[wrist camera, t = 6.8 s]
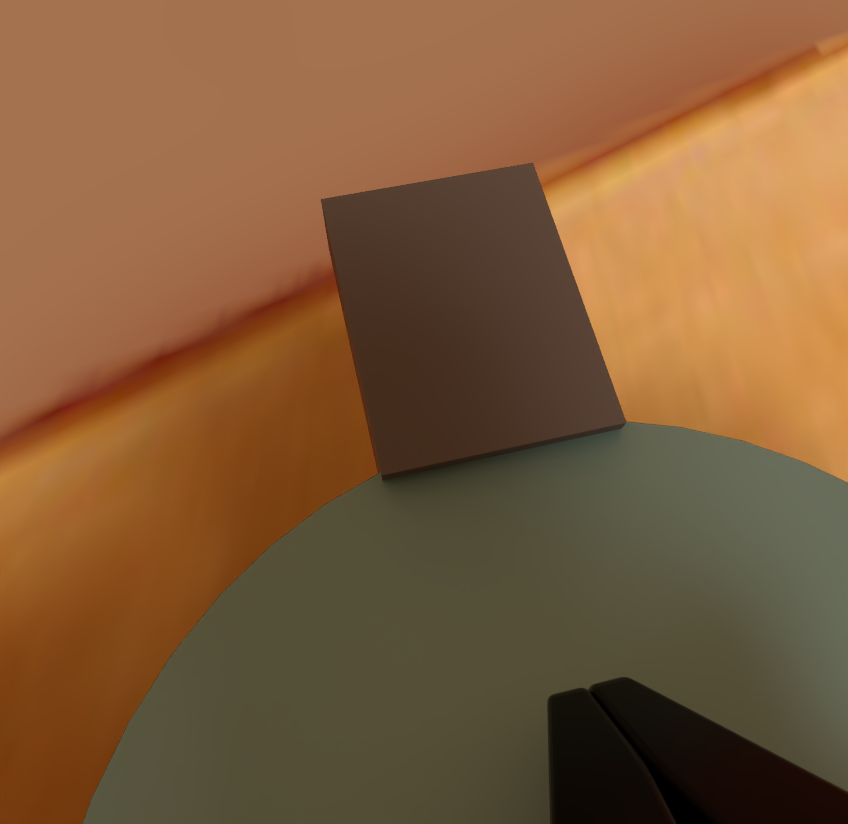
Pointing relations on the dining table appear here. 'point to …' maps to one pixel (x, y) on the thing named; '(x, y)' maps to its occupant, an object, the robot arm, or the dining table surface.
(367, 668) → the lid
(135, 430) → the dining table surface
